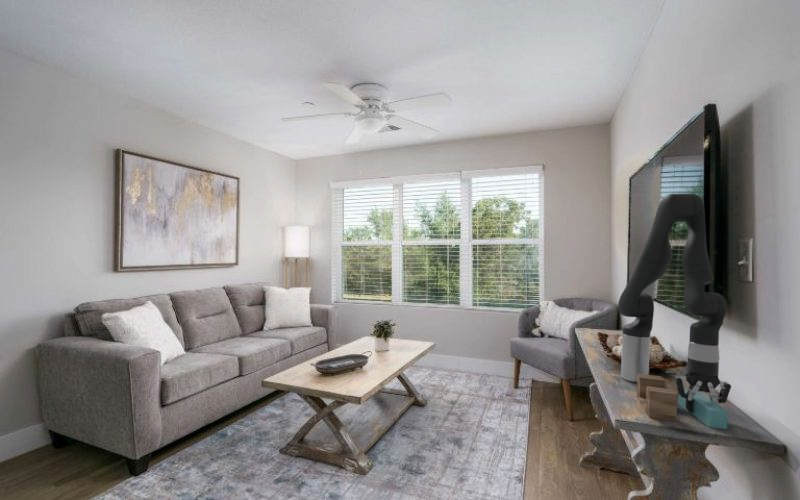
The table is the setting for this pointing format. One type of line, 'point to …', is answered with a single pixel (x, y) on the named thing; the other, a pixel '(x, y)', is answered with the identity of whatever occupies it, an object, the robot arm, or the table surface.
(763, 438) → the table surface
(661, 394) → the wooden block pair
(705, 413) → the glasses case
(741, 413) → the table surface
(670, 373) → the smartphone
